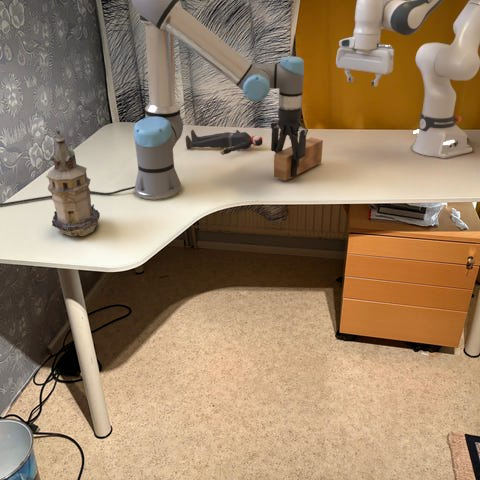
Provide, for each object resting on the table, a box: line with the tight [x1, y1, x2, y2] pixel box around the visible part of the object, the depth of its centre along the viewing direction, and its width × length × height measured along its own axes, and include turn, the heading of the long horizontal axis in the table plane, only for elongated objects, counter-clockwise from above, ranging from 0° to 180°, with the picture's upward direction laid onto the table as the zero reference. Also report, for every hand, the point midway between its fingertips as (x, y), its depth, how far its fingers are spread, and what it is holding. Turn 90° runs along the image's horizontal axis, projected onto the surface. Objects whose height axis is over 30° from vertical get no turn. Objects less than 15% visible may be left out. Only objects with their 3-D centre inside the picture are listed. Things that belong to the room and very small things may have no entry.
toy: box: [185, 129, 264, 156], centre depth 213 cm, size 26×6×30 cm
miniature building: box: [46, 129, 101, 237], centre depth 148 cm, size 13×14×30 cm
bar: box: [273, 137, 324, 181], centre depth 188 cm, size 22×5×8 cm, turn 140°
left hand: (286, 173), depth 185 cm, fingers closed on bar, 5 cm apart
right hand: (362, 84), depth 186 cm, fingers open, 8 cm apart
